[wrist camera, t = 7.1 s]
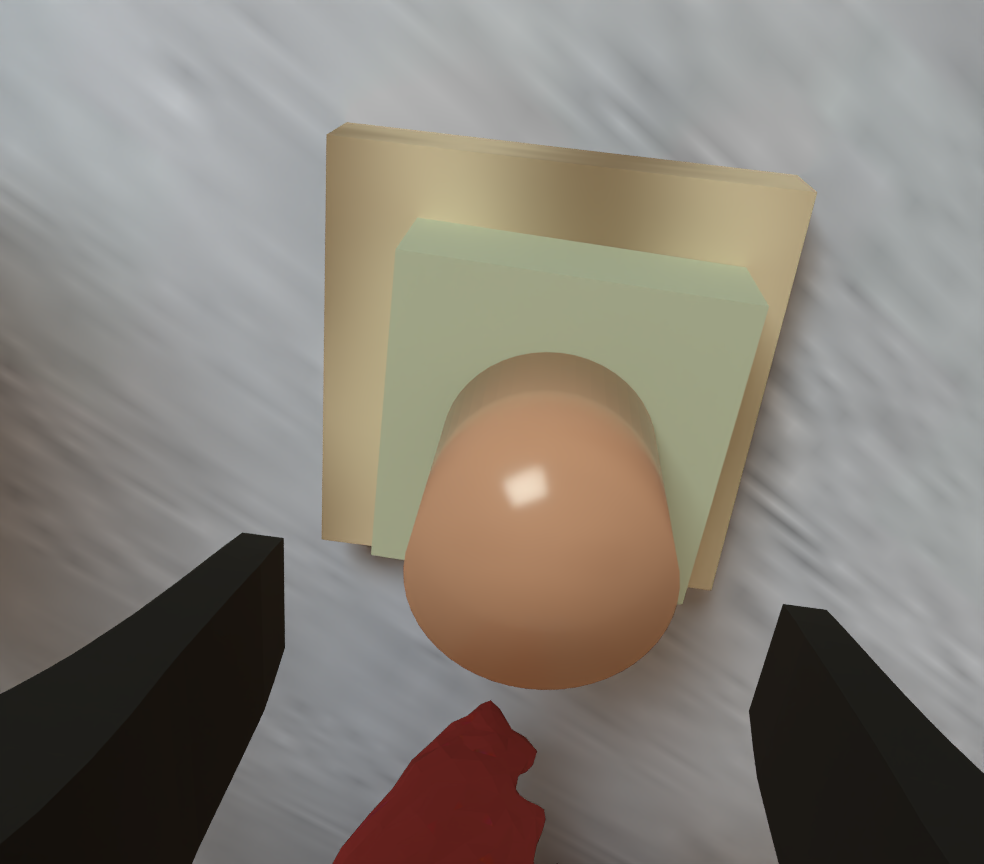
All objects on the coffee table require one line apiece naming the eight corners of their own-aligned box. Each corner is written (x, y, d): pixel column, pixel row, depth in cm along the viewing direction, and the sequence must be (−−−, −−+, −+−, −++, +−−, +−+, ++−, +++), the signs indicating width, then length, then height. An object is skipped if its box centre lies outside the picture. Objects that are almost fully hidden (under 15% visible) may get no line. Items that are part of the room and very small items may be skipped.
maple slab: (344, 489, 25) (321, 539, 23) (353, 117, 20) (326, 134, 18) (698, 535, 24) (710, 590, 22) (789, 169, 20) (817, 192, 18)
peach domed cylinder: (435, 528, 19) (397, 671, 15) (448, 339, 17) (410, 448, 13) (637, 553, 19) (653, 705, 15) (674, 366, 17) (705, 483, 13)
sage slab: (392, 496, 22) (371, 554, 20) (417, 217, 19) (395, 249, 16) (671, 541, 22) (682, 604, 19) (745, 267, 18) (769, 305, 16)
